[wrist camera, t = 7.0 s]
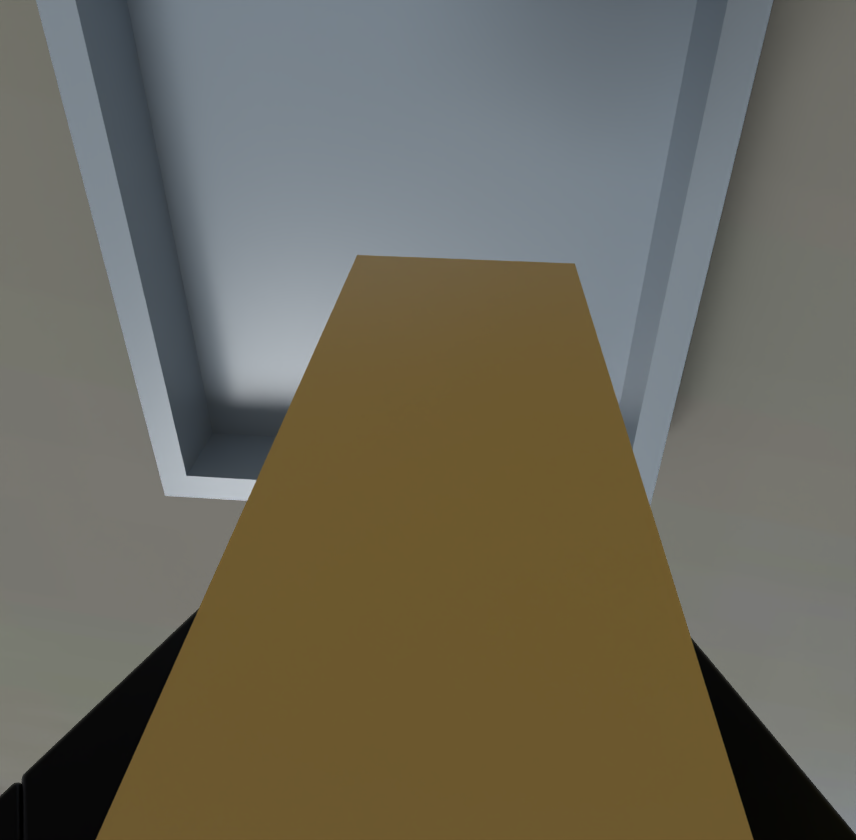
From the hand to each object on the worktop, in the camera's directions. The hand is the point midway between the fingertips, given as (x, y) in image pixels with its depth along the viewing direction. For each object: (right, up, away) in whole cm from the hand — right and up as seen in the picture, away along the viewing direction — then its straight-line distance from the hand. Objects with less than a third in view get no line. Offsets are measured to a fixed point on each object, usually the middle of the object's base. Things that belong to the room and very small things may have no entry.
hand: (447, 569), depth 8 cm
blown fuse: (0, +2, +3) cm, 4 cm away
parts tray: (-1, +7, +11) cm, 13 cm away
